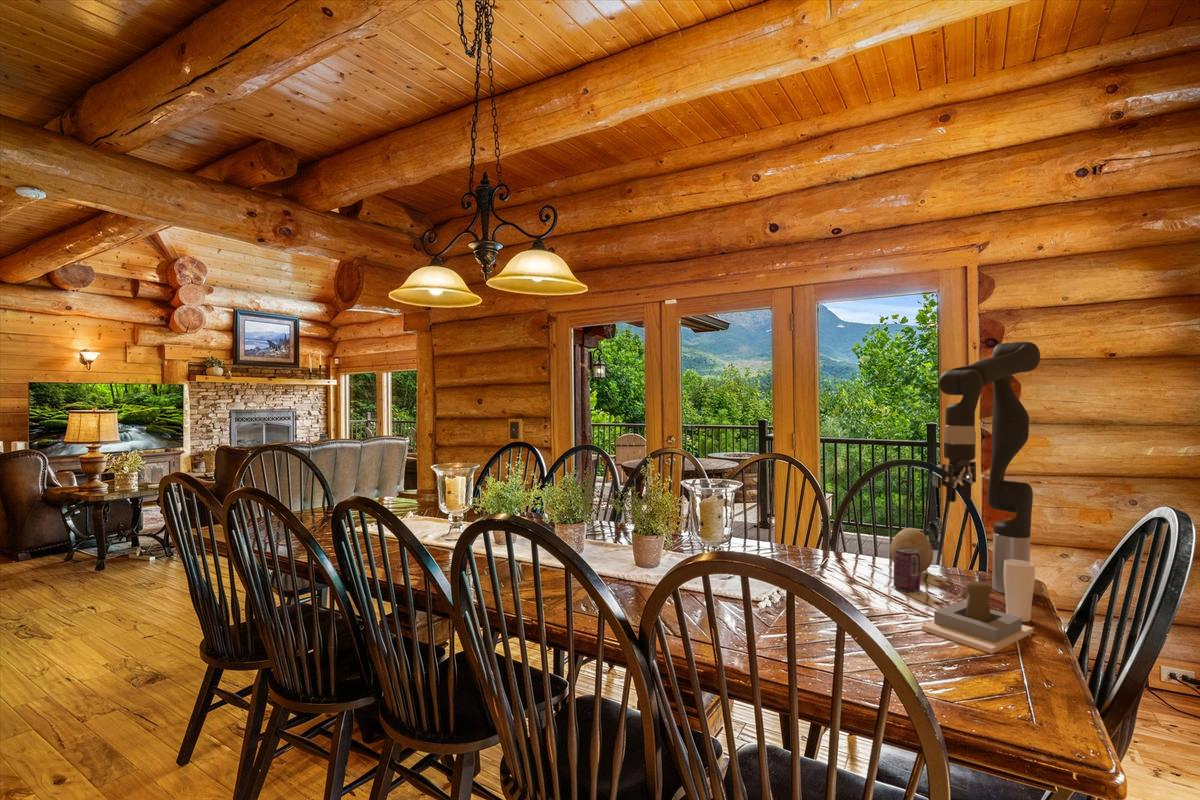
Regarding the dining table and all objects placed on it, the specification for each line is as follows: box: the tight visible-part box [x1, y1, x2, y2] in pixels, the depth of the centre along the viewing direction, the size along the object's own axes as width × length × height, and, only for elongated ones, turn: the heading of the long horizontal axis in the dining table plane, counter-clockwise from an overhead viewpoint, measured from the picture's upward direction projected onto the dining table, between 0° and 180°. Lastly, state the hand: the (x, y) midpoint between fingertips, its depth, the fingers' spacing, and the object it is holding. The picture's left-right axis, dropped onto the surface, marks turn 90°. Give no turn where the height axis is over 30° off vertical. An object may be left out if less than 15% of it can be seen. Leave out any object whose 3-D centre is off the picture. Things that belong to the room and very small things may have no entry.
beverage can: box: [893, 547, 921, 593], centre depth 180 cm, size 7×7×12 cm
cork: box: [965, 580, 992, 623], centre depth 149 cm, size 6×6×11 cm
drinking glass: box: [1004, 559, 1036, 623], centre depth 157 cm, size 7×7×15 cm
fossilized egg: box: [889, 527, 934, 574], centre depth 196 cm, size 13×13×15 cm
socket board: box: [921, 600, 1034, 655], centre depth 148 cm, size 22×16×4 cm
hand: (958, 499), depth 164 cm, fingers open, 8 cm apart
